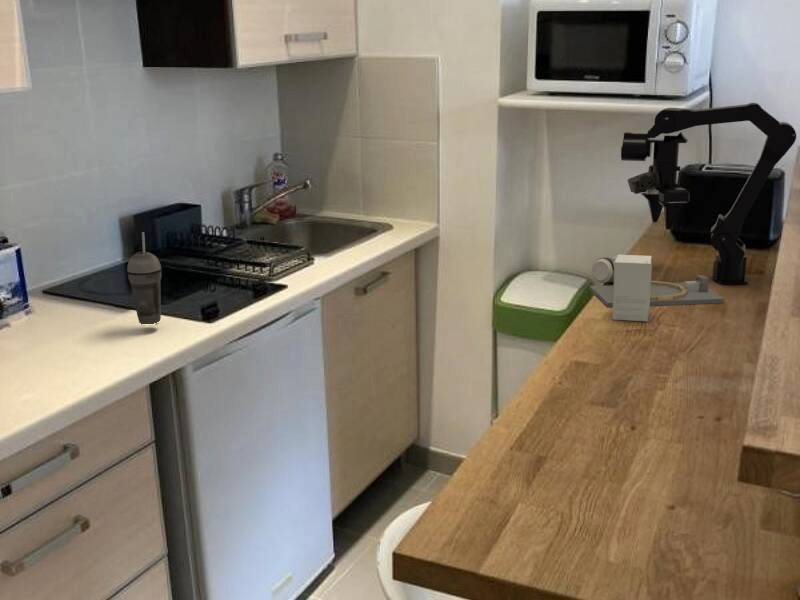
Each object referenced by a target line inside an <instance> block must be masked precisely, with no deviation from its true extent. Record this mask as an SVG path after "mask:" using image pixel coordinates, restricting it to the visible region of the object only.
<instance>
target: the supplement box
mask: <svg viewBox="0 0 800 600" xmlns="http://www.w3.org/2000/svg"><path fill="white" fill-rule="evenodd" d="M616 257H617V258H616V260H615V262H614V282H613V285H614V290H613V307H612V320H615V321H617V320H618V321H629V322H630V321H632V322H647V323H648V320H649V317H650V316H649V315H650V307H651V306H650V289H651V281H652V269H653V267H652V266H653V265H652V264H653V262H652V255H639V254H638V255H637V254H635V255H634V254H631V255H630V254H617V256H616Z"/></svg>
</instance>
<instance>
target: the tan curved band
mask: <svg viewBox="0 0 800 600" xmlns="http://www.w3.org/2000/svg"><path fill="white" fill-rule="evenodd" d="M709 280H710V279H709V277H707V276H705V275H704V274H696V275H695V280H687V281H686V280H684V281H683V282H684V287H683V286H681V285H678V284H673V283H674V282H667V281H658V280H651V285H656V286H666V287H670V288H674V289H678V290H679V291H681V293H678V294H674V295H666V296H654V295H650V300H675V299H679V298H683V297H685V296H686V295H687V292H708V289H709V283H710V282H709ZM613 290H614V286H613Z"/></svg>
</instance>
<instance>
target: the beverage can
mask: <svg viewBox="0 0 800 600" xmlns="http://www.w3.org/2000/svg"><path fill="white" fill-rule="evenodd" d="M616 258H617V256H611V257H600V258H597V259H596V260H595V261H594V263H593V265H592V269H591V270H592V276H593V278H594V280H595V281H597V282H598V283H600V284H609V283H614V262H615V260H616Z"/></svg>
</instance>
